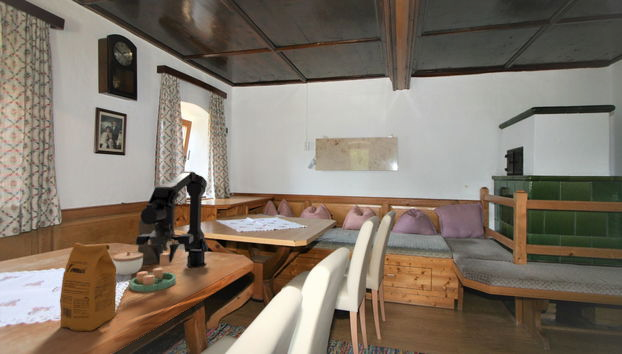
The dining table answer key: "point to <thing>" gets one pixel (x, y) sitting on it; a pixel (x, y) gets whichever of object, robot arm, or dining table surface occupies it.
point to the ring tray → (166, 282)
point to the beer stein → (147, 251)
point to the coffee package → (88, 288)
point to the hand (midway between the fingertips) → (165, 262)
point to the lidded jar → (128, 262)
